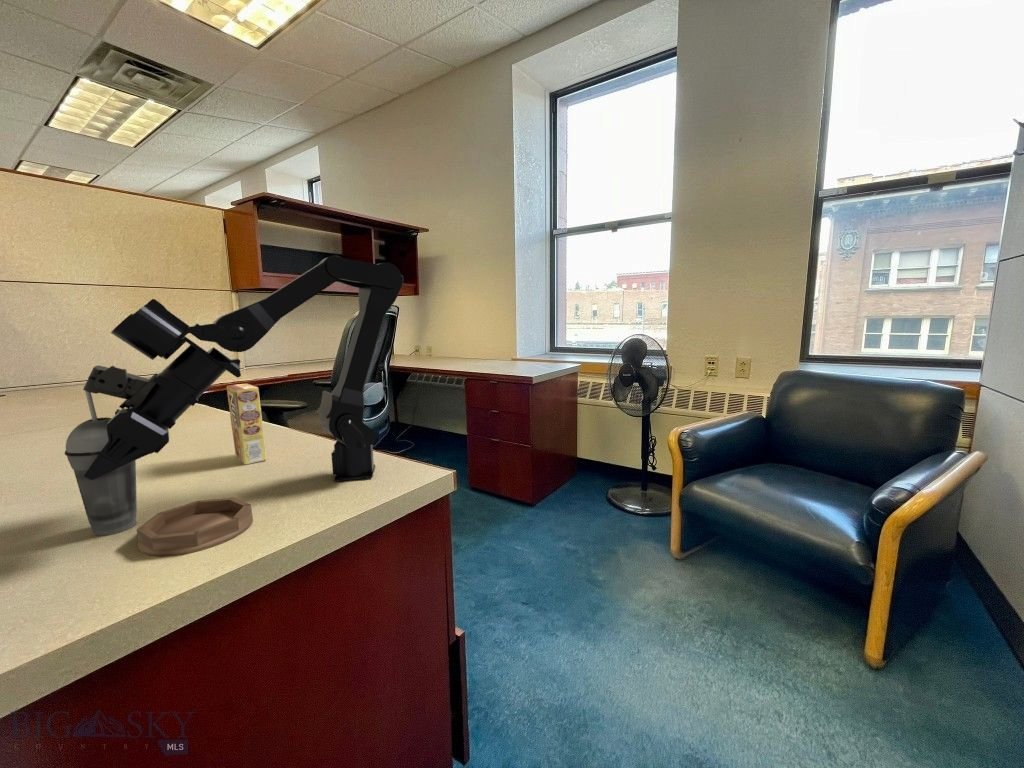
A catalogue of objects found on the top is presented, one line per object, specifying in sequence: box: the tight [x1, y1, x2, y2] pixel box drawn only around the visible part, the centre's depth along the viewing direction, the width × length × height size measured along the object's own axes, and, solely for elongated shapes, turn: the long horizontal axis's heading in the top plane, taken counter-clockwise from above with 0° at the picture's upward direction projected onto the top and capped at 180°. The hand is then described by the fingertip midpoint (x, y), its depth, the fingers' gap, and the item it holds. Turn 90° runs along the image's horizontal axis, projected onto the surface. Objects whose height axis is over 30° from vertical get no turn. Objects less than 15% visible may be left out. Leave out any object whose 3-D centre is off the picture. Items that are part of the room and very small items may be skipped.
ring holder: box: [136, 497, 254, 557], centre depth 59 cm, size 13×13×2 cm
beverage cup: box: [64, 390, 138, 537], centre depth 59 cm, size 7×7×20 cm
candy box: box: [226, 383, 267, 465], centre depth 90 cm, size 9×4×15 cm, turn 44°
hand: (92, 470), depth 58 cm, fingers closed on beverage cup, 7 cm apart
